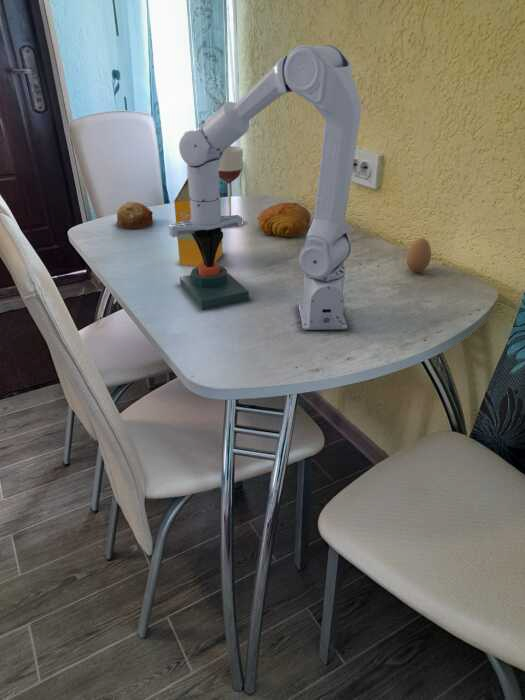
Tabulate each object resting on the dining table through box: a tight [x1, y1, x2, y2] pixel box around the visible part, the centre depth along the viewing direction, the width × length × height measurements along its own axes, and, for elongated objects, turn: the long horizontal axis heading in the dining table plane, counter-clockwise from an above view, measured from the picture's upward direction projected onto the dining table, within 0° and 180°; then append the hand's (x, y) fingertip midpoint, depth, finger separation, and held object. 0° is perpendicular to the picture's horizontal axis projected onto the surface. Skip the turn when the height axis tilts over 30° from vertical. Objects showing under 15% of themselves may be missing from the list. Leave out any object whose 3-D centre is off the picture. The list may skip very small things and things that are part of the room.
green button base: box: [179, 265, 250, 311], centre depth 103 cm, size 13×10×4 cm
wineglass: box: [218, 145, 244, 225], centre depth 139 cm, size 8×9×20 cm
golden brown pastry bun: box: [257, 201, 312, 238], centre depth 138 cm, size 14×16×8 cm
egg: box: [405, 237, 432, 274], centre depth 112 cm, size 5×5×8 cm
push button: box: [197, 261, 221, 276], centre depth 104 cm, size 4×4×2 cm
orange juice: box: [173, 177, 224, 267], centre depth 115 cm, size 8×9×20 cm
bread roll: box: [116, 201, 154, 230], centre depth 142 cm, size 10×10×8 cm
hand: (208, 265), depth 103 cm, fingers closed, pressing on push button
